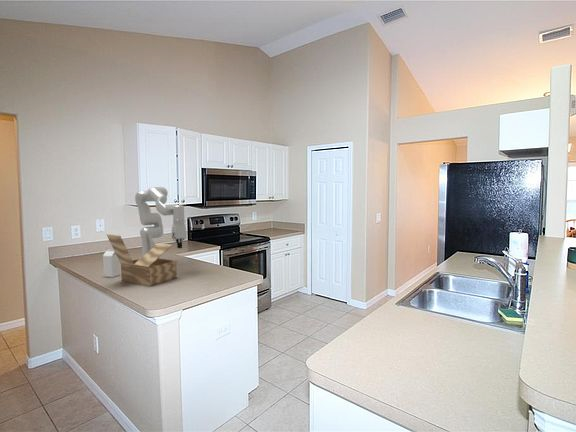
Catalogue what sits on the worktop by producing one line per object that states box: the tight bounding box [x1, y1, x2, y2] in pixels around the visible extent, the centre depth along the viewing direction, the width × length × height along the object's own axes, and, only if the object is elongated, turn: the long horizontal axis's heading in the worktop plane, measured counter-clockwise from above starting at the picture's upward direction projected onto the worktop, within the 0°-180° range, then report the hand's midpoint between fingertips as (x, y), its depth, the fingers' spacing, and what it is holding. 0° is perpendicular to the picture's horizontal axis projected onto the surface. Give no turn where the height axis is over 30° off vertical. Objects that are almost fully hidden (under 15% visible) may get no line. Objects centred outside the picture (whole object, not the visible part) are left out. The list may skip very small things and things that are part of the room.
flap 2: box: [134, 242, 173, 267], centre depth 210 cm, size 22×14×1 cm
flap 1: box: [106, 233, 134, 265], centre depth 204 cm, size 22×14×1 cm
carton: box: [120, 257, 178, 287], centre depth 216 cm, size 22×28×12 cm
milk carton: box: [102, 248, 121, 278], centre depth 224 cm, size 7×7×19 cm
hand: (179, 247), depth 227 cm, fingers closed
